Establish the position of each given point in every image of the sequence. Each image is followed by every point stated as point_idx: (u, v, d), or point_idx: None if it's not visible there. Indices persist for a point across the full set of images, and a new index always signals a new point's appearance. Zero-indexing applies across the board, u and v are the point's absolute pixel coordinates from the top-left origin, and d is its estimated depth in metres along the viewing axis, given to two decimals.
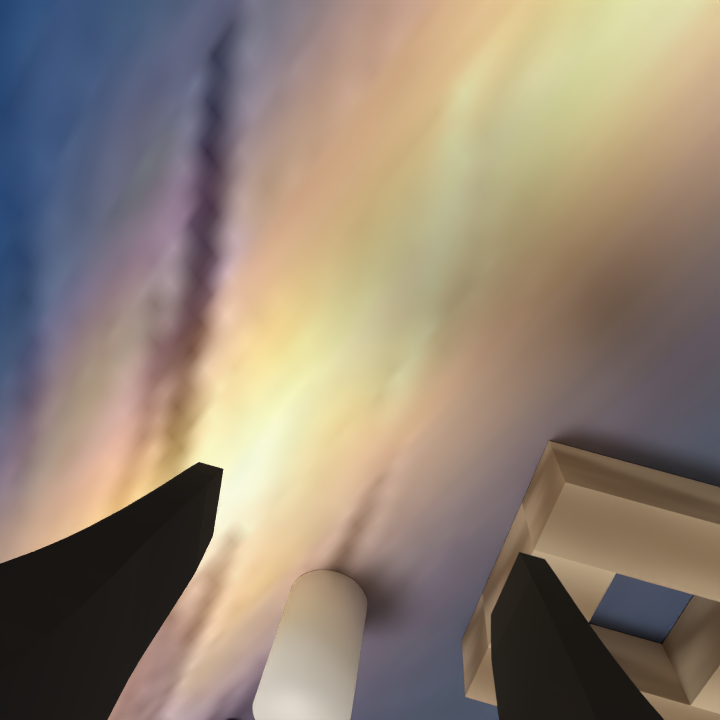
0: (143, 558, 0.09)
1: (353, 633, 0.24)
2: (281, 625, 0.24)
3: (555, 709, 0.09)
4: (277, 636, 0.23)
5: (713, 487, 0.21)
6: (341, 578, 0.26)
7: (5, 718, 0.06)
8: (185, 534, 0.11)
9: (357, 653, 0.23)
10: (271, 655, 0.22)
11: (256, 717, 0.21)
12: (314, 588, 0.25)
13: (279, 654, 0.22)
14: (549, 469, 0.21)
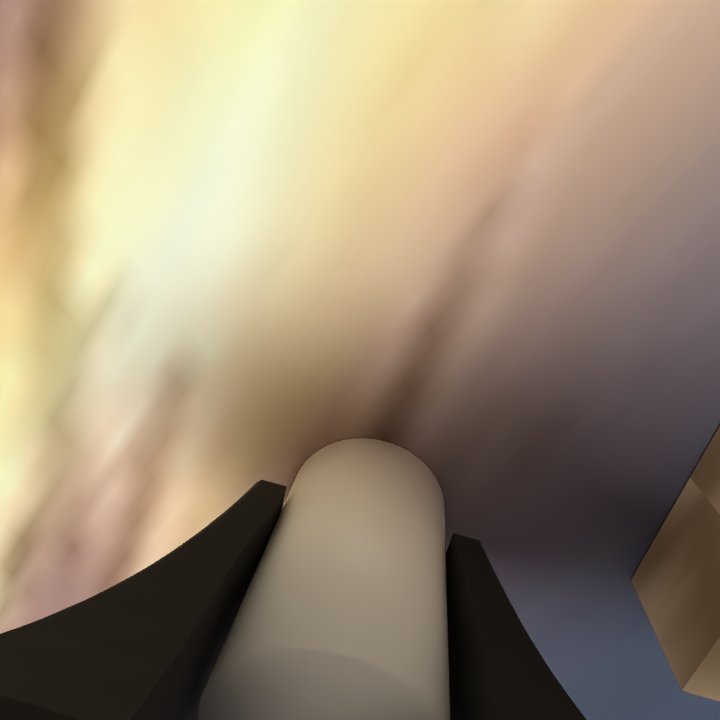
0: (228, 583, 0.09)
1: (434, 550, 0.11)
2: (273, 535, 0.11)
3: (466, 683, 0.09)
4: (264, 555, 0.10)
5: None
6: (396, 452, 0.13)
7: None
8: (256, 554, 0.11)
9: (445, 593, 0.10)
10: (249, 592, 0.09)
11: None
12: (343, 465, 0.12)
13: (267, 587, 0.09)
14: None
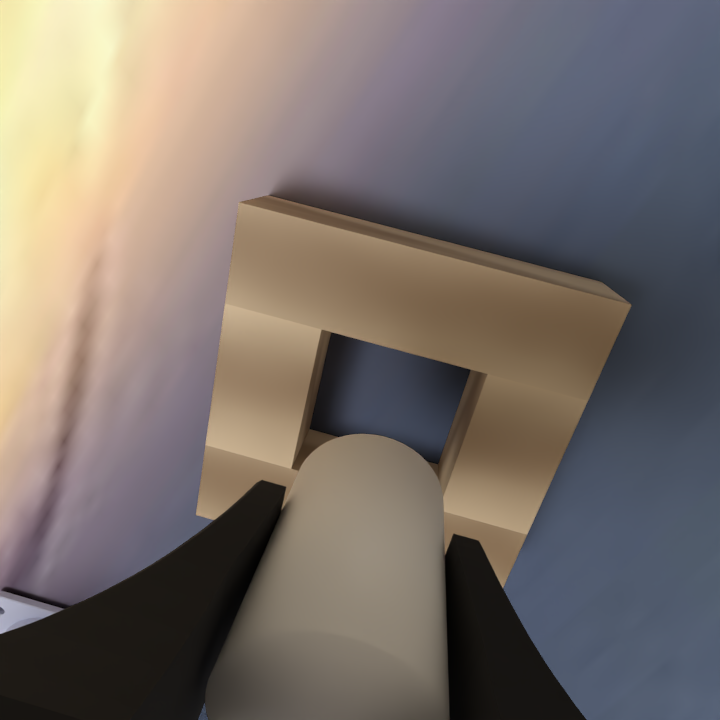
0: (228, 582, 0.09)
1: (438, 549, 0.11)
2: (283, 520, 0.11)
3: (466, 683, 0.09)
4: (274, 539, 0.11)
5: (456, 245, 0.18)
6: (404, 451, 0.13)
7: None
8: (256, 554, 0.11)
9: (445, 591, 0.11)
10: (260, 574, 0.10)
11: (212, 715, 0.09)
12: (354, 459, 0.12)
13: (282, 570, 0.09)
14: None
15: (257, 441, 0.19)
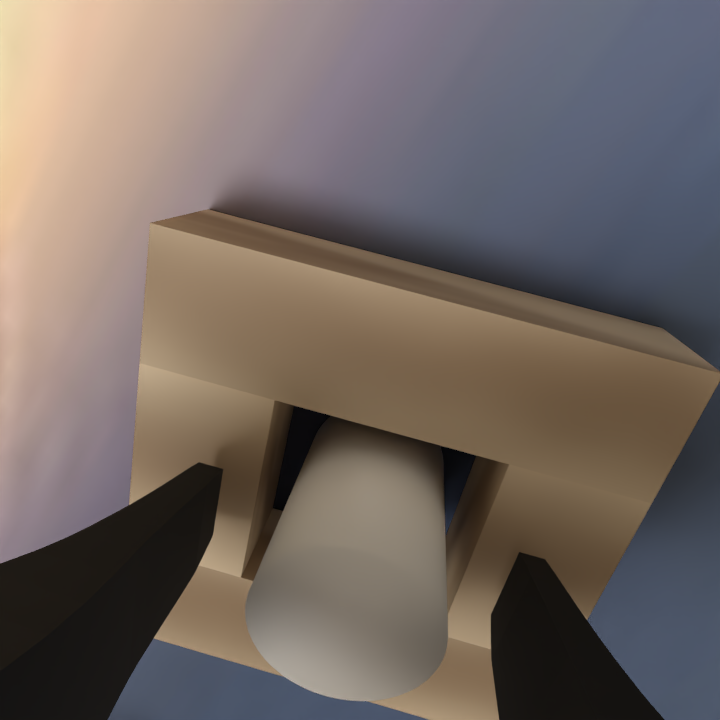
0: (143, 558, 0.09)
1: (438, 496, 0.13)
2: (305, 472, 0.13)
3: (555, 709, 0.09)
4: (298, 486, 0.12)
5: (464, 277, 0.13)
6: None
7: (5, 718, 0.06)
8: (185, 534, 0.11)
9: (444, 531, 0.12)
10: (288, 512, 0.11)
11: (250, 623, 0.10)
12: None
13: (308, 506, 0.11)
14: None
15: None
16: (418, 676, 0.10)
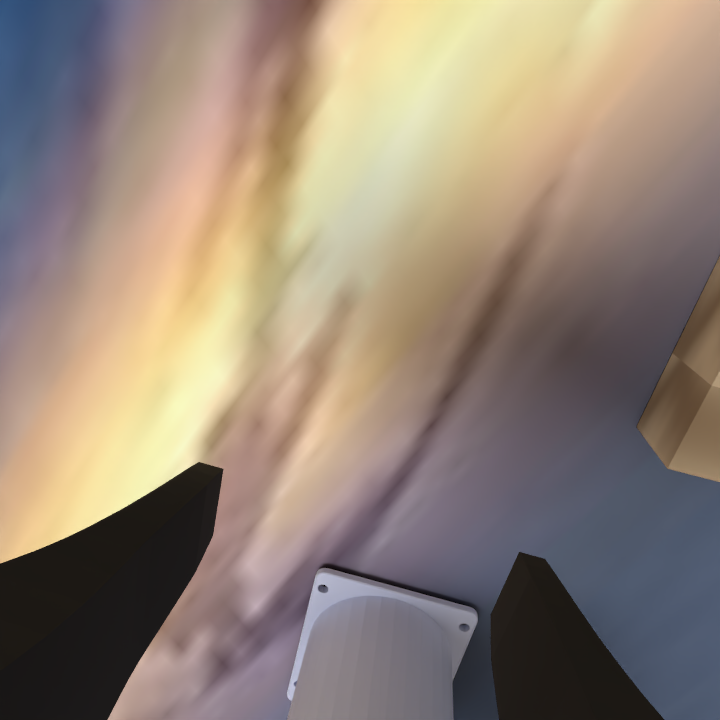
0: (143, 558, 0.09)
1: None
2: None
3: (555, 709, 0.09)
4: None
5: None
6: None
7: (5, 718, 0.06)
8: (185, 534, 0.11)
9: None
10: None
11: None
12: None
13: None
14: None
15: None
16: None
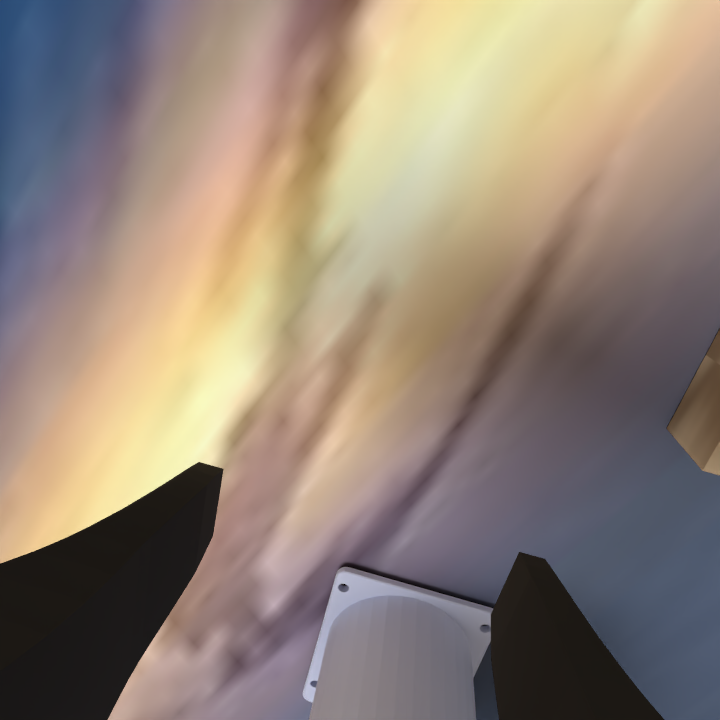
0: (143, 558, 0.09)
1: None
2: None
3: (555, 709, 0.09)
4: None
5: None
6: None
7: (5, 718, 0.06)
8: (185, 534, 0.11)
9: None
10: None
11: None
12: None
13: None
14: None
15: None
16: None
